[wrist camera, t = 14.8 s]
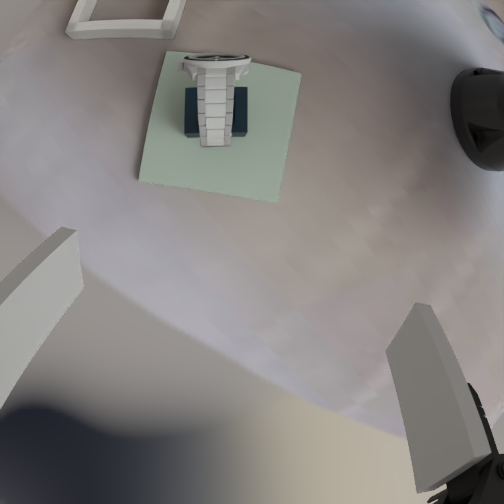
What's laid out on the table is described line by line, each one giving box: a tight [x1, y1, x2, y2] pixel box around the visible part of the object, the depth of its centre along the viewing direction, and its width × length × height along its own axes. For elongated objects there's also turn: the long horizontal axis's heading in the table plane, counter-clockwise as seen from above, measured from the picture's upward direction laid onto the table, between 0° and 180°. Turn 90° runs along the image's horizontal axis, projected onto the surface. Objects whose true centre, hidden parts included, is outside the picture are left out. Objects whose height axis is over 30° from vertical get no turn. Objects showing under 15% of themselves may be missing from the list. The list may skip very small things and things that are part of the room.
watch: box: [177, 53, 251, 148], centre depth 23 cm, size 6×8×11 cm
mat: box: [138, 51, 302, 204], centre depth 28 cm, size 14×14×1 cm
